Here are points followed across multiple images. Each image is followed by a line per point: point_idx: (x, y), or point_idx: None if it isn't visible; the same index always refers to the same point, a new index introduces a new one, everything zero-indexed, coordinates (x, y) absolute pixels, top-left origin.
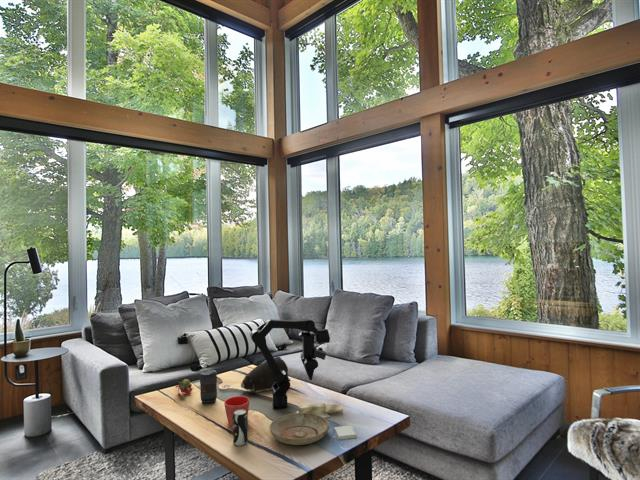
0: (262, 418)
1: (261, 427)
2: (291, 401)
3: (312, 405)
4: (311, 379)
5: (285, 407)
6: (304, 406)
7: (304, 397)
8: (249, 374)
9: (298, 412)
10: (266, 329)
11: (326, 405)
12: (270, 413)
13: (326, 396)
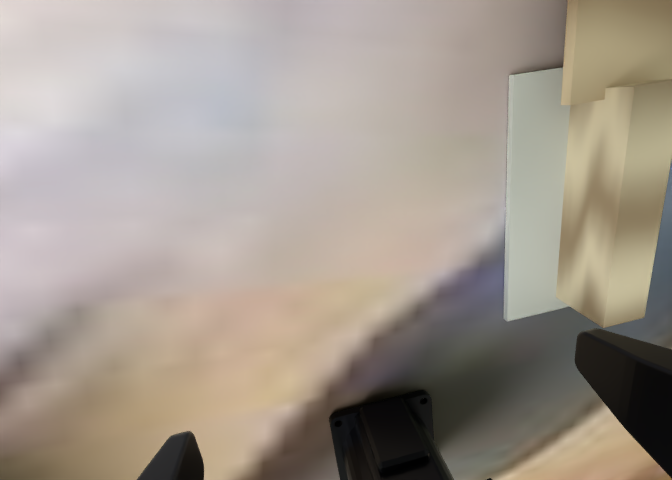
0: (536, 477)
1: (633, 452)
2: (296, 379)
3: (629, 213)
4: (604, 339)
5: (430, 399)
6: (625, 281)
7: (203, 288)
8: None
9: (531, 302)
10: None
11: (581, 68)
12: (482, 458)
13: (167, 46)
